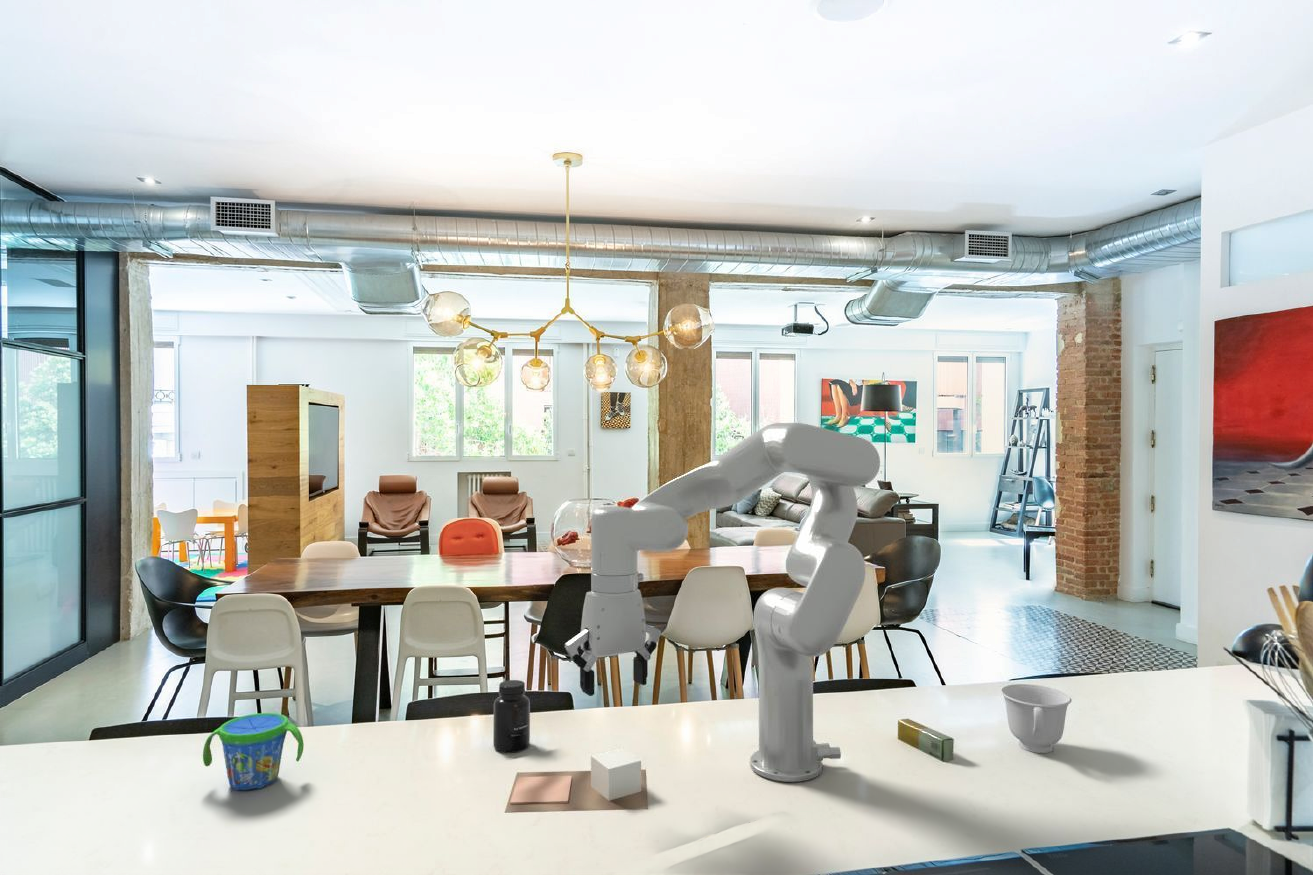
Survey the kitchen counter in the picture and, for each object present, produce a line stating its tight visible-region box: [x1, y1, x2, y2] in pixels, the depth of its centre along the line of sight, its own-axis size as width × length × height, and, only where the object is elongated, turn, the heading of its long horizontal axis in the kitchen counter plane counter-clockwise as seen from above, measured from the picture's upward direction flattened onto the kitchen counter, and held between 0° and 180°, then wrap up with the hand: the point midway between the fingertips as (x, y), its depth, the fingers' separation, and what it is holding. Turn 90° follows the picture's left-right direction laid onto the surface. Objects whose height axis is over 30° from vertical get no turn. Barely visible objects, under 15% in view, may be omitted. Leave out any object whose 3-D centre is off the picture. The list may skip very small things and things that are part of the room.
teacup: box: [1000, 683, 1073, 754], centre depth 146 cm, size 12×15×10 cm
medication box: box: [897, 718, 955, 763], centre depth 147 cm, size 12×3×4 cm, turn 25°
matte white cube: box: [590, 747, 642, 801], centre depth 128 cm, size 6×6×5 cm
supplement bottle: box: [492, 679, 531, 754], centre depth 149 cm, size 7×7×12 cm
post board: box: [504, 769, 649, 813], centre depth 128 cm, size 22×14×5 cm, turn 92°
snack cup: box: [202, 712, 305, 791], centre depth 134 cm, size 16×10×10 cm
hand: (614, 688), depth 128 cm, fingers open, 9 cm apart
